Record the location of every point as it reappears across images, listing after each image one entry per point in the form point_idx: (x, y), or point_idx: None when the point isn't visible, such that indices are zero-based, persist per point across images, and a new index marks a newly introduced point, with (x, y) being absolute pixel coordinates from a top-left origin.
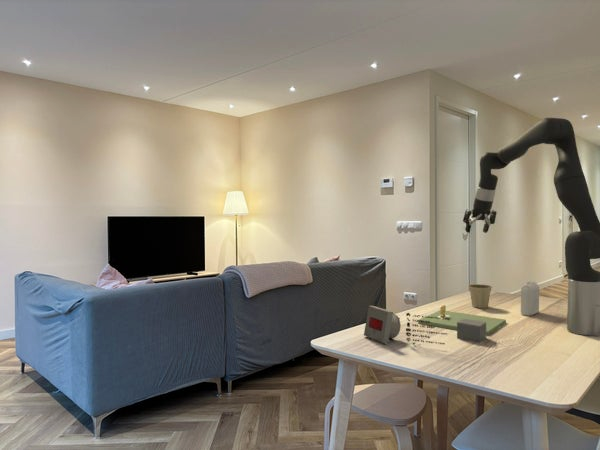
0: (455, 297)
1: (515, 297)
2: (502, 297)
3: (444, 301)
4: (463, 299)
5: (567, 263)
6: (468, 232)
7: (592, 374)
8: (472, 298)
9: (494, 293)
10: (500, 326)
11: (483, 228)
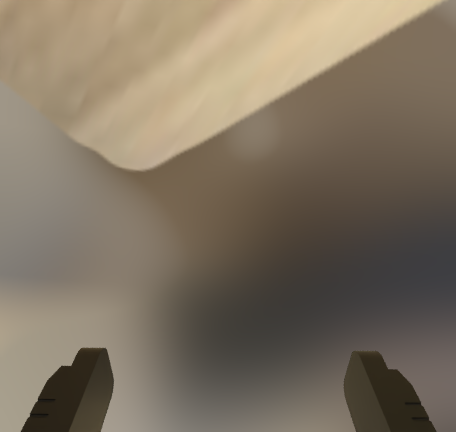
0: (289, 79)
1: (6, 11)
2: (75, 28)
3: (403, 7)
4: (285, 30)
5: None
6: (375, 351)
7: None
8: None
9: (80, 116)
10: None
11: (101, 426)
